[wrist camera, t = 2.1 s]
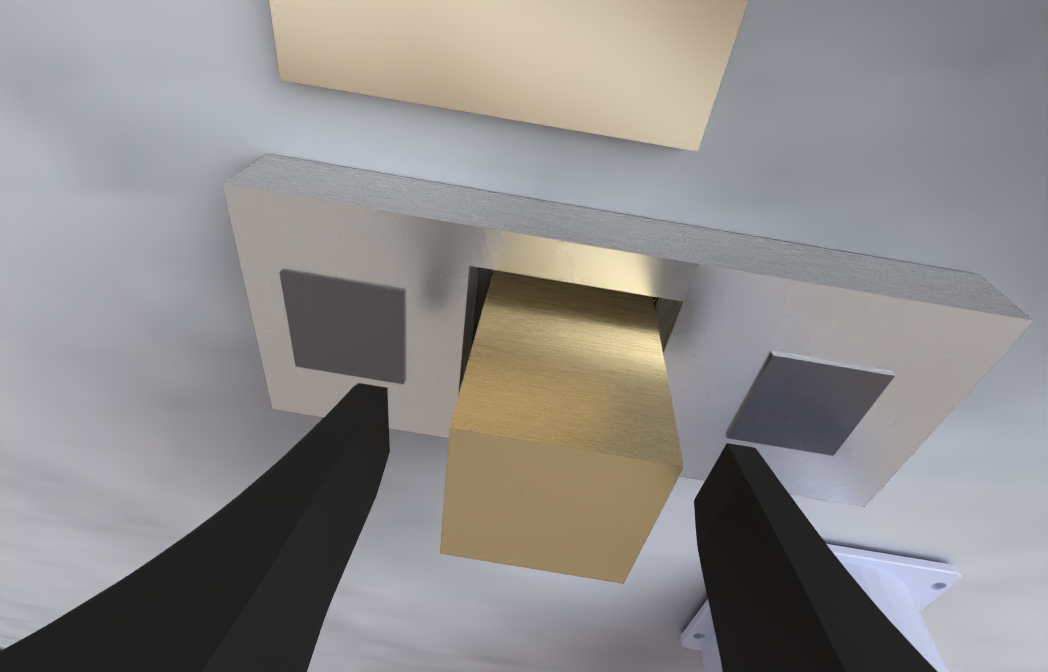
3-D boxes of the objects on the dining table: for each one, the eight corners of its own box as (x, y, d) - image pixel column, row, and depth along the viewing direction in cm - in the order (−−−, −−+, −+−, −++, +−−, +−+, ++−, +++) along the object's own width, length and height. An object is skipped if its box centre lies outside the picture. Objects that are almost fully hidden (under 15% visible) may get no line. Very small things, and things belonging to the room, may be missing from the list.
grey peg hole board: (838, 455, 17) (866, 510, 16) (301, 365, 17) (270, 411, 16) (979, 274, 13) (1037, 323, 11) (266, 154, 13) (219, 184, 11)
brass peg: (611, 381, 16) (623, 583, 11) (485, 360, 16) (439, 553, 11) (647, 271, 14) (683, 466, 9) (499, 246, 14) (449, 427, 9)
